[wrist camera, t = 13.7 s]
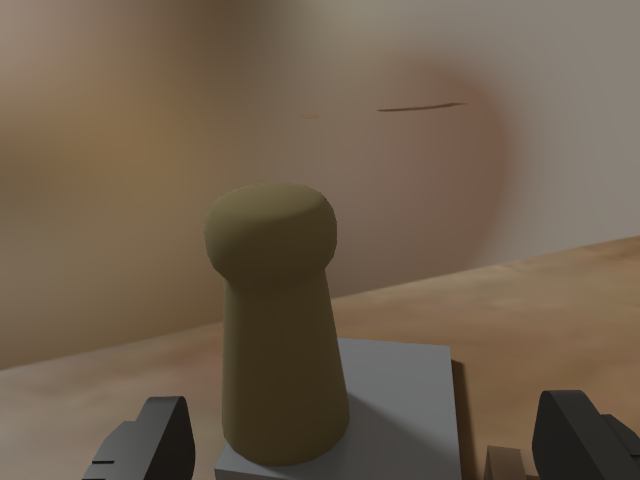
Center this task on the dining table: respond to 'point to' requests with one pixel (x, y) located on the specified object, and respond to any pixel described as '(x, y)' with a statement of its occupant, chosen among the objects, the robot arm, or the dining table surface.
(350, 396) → the slate tile
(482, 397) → the dining table surface
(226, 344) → the cork
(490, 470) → the wooden square frame
